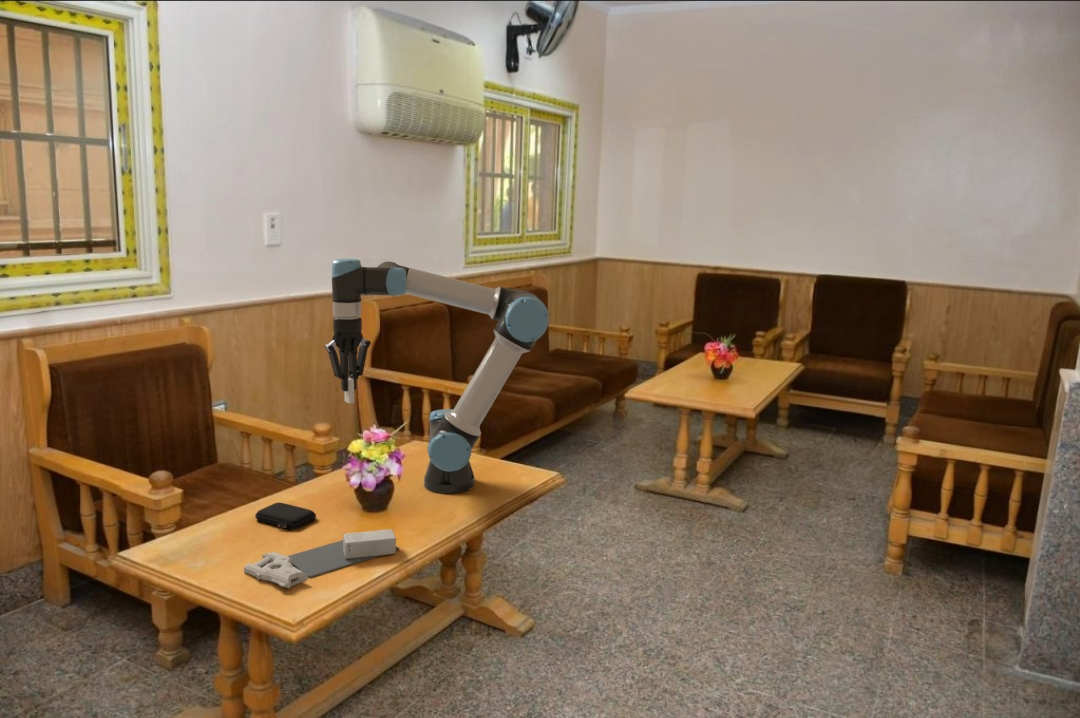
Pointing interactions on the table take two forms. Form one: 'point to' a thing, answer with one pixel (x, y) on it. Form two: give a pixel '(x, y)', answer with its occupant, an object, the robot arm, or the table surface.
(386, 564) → the table surface
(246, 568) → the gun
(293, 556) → the mat
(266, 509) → the carrying case or bag
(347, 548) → the skincare box
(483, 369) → the robot arm
